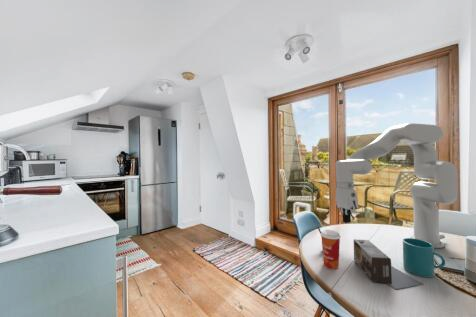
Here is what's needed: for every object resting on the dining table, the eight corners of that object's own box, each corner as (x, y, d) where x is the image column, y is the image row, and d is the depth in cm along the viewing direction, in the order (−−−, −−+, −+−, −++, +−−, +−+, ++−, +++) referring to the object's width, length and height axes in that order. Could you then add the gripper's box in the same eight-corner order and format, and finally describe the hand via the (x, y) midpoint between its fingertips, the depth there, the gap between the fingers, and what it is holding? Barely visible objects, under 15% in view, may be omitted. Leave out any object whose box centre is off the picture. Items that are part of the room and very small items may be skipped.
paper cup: (317, 261, 86) (317, 229, 86) (334, 260, 87) (333, 228, 87) (327, 271, 78) (326, 236, 78) (345, 270, 79) (344, 235, 79)
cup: (447, 284, 69) (447, 252, 69) (403, 272, 77) (402, 243, 77) (443, 272, 76) (443, 243, 76) (403, 262, 83) (402, 236, 83)
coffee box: (369, 260, 85) (392, 284, 69) (353, 259, 86) (372, 283, 70) (369, 239, 85) (391, 259, 69) (353, 238, 86) (371, 258, 70)
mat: (379, 260, 86) (379, 259, 86) (423, 284, 69) (423, 283, 69) (356, 263, 83) (356, 263, 83) (396, 289, 67) (396, 288, 67)
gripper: (364, 186, 90) (366, 226, 90) (340, 182, 105) (342, 217, 105) (350, 188, 89) (352, 228, 89) (328, 184, 103) (330, 218, 103)
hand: (346, 222), depth 97 cm, fingers closed
